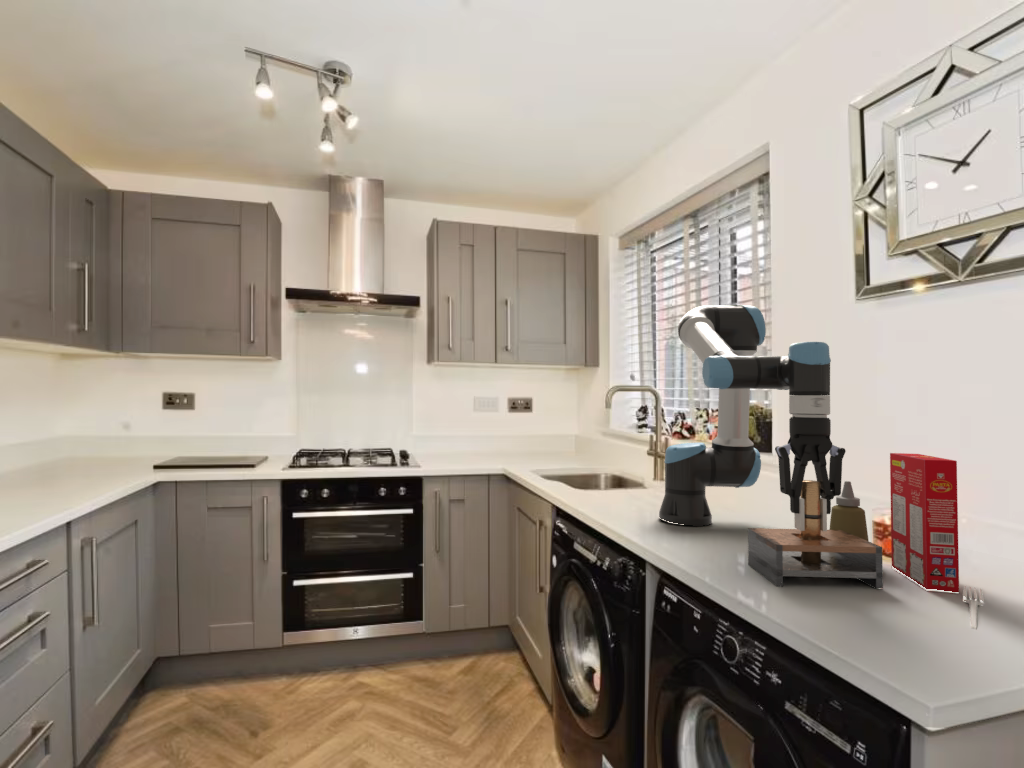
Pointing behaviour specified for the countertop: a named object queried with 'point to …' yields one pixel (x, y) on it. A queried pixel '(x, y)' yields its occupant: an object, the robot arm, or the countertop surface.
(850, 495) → the squeeze bottle
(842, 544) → the frame
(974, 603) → the fork
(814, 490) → the wooden peg
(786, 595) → the countertop surface
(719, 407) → the robot arm
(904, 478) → the food packaging
